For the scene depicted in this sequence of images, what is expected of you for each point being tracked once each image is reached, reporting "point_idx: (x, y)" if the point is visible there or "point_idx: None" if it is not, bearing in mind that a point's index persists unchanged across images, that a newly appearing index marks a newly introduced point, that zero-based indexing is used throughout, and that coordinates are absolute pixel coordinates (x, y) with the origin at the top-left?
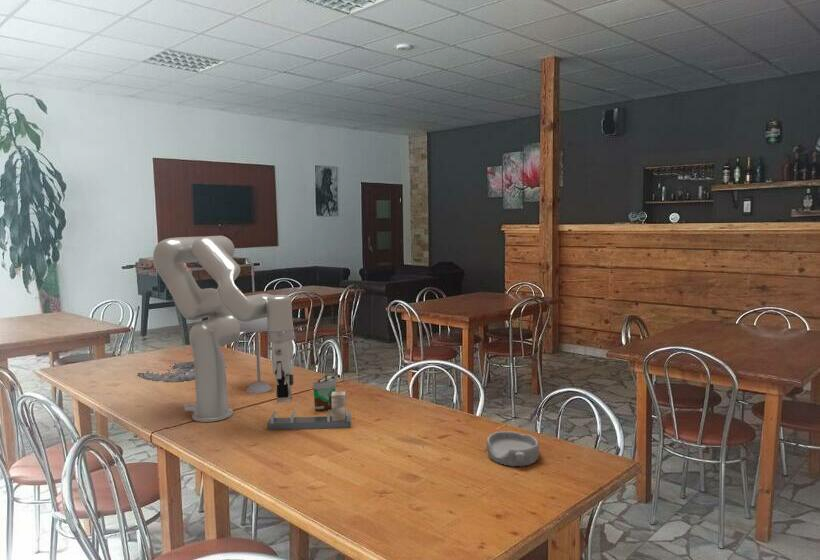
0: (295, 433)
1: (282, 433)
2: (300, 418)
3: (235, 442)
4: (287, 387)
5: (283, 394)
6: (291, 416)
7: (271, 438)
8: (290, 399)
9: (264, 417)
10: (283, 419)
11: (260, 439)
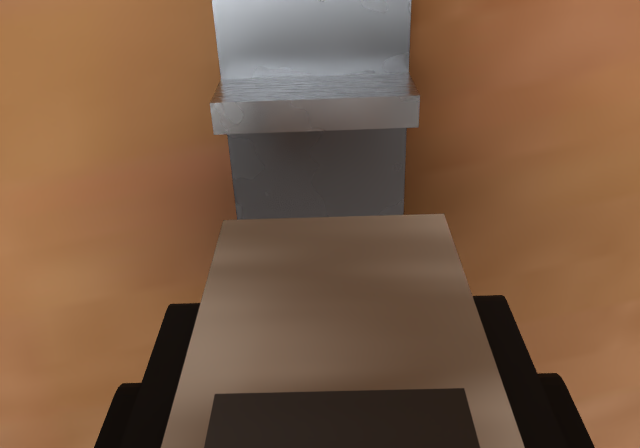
0: (524, 11)
1: (498, 139)
2: (262, 16)
3: (614, 413)
4: (562, 441)
5: (556, 392)
6: (417, 116)
7: (603, 205)
8: (398, 230)
9: (86, 355)
10: (293, 196)
11: (602, 280)
